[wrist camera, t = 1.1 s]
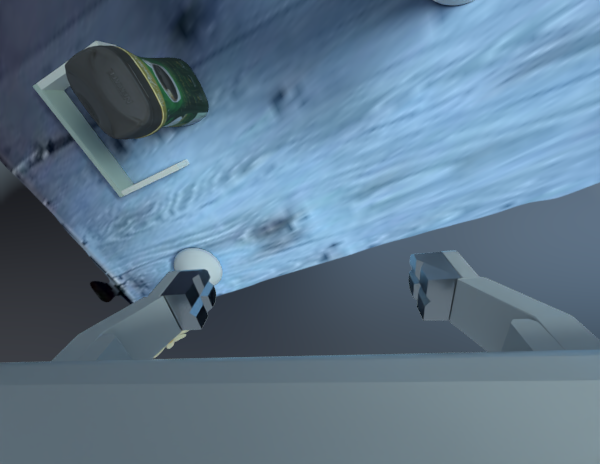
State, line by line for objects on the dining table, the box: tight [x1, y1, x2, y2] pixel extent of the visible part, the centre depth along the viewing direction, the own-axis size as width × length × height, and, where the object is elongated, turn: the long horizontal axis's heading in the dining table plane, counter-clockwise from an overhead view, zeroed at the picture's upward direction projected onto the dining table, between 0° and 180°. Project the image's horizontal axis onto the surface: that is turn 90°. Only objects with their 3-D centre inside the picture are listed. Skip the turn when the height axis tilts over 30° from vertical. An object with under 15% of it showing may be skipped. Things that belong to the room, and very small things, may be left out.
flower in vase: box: [153, 248, 222, 358], centre depth 50 cm, size 13×11×25 cm
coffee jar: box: [65, 45, 208, 139], centre depth 35 cm, size 10×8×19 cm
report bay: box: [33, 41, 189, 198], centre depth 45 cm, size 14×20×4 cm
